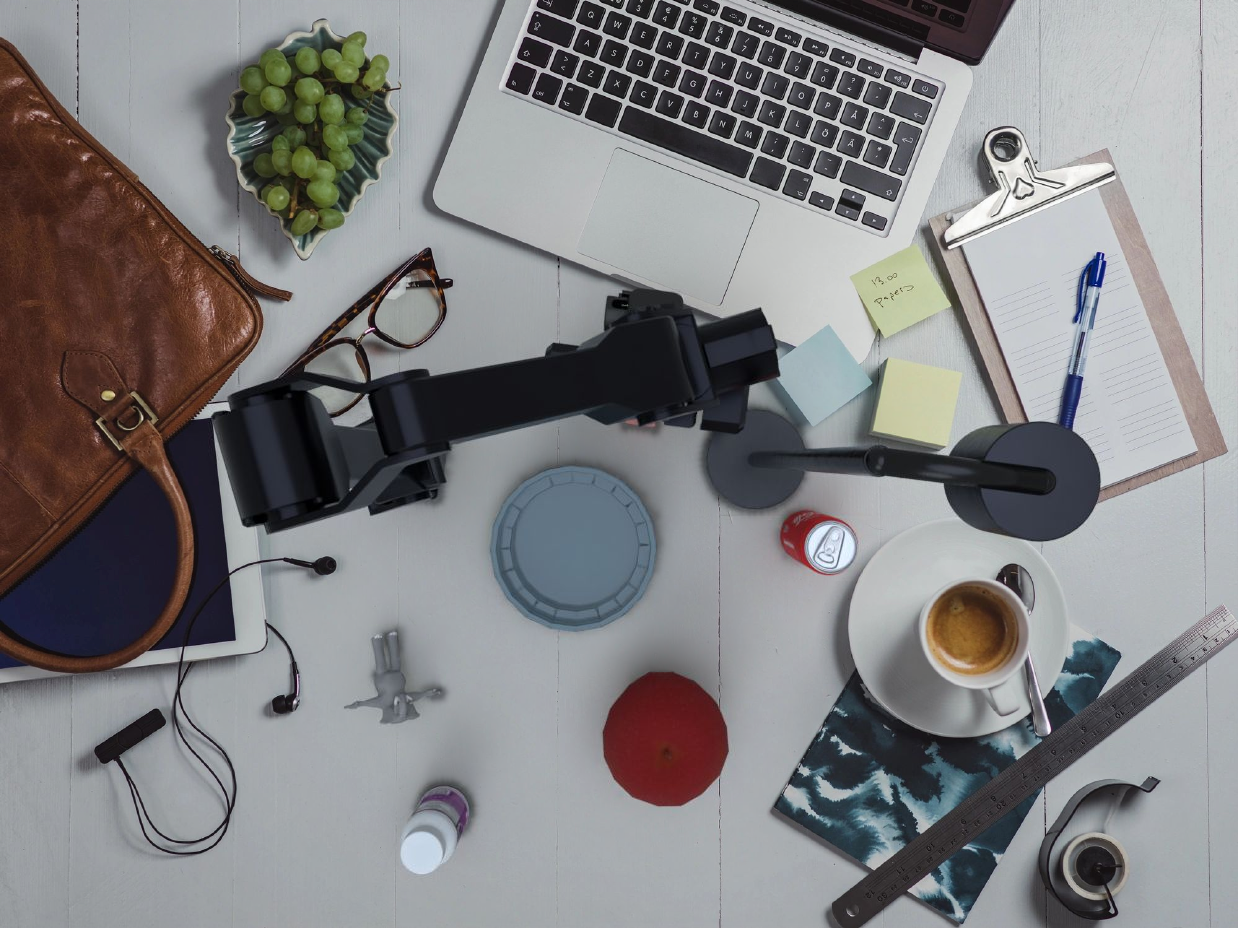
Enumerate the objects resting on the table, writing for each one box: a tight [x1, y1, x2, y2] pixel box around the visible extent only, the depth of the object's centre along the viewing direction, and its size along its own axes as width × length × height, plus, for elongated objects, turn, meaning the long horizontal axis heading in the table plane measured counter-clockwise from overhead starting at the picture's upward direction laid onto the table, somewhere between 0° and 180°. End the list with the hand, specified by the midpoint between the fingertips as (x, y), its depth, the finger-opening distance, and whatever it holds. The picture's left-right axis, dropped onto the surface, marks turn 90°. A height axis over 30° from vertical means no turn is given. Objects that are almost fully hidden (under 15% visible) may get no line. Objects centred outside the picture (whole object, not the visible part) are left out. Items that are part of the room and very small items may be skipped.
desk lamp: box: [704, 409, 1102, 543], centre depth 63 cm, size 16×10×45 cm, turn 83°
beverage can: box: [779, 509, 859, 576], centre depth 80 cm, size 5×5×12 cm
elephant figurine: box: [343, 631, 441, 725], centre depth 84 cm, size 10×6×9 cm
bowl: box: [489, 464, 658, 633], centre depth 84 cm, size 16×16×4 cm
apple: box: [602, 671, 730, 807], centre depth 79 cm, size 12×12×13 cm
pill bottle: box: [399, 785, 470, 875], centre depth 82 cm, size 5×5×10 cm
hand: (643, 395), depth 85 cm, fingers closed on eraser, 3 cm apart
